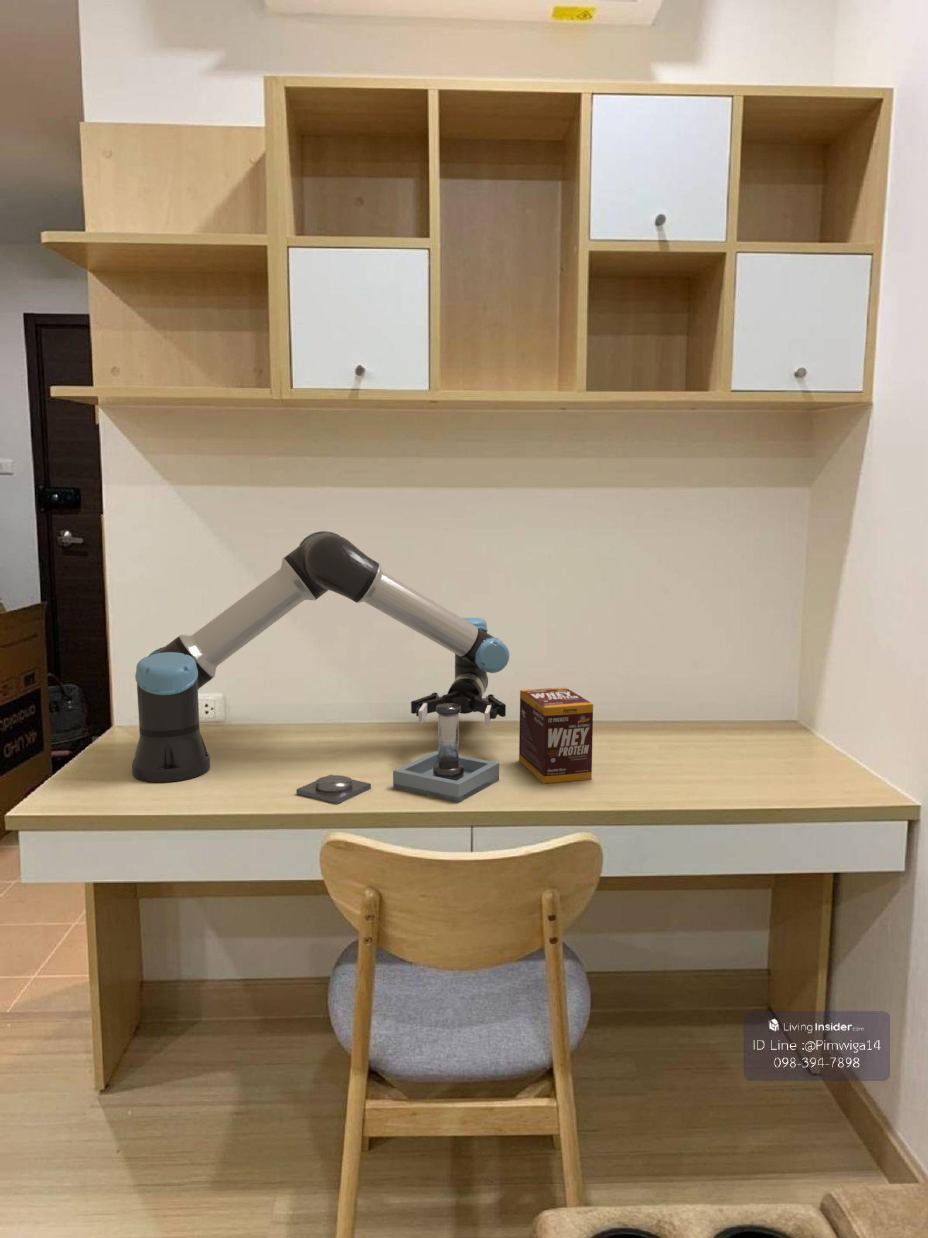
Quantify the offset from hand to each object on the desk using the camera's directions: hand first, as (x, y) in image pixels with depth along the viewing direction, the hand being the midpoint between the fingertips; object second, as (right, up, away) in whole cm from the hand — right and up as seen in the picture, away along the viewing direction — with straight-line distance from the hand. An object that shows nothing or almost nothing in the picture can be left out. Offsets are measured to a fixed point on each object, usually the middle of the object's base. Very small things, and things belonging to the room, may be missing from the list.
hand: (453, 718), depth 189 cm
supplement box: (+21, -11, +1) cm, 24 cm away
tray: (-1, -12, -8) cm, 14 cm away
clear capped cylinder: (-1, -11, -7) cm, 13 cm away
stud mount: (-23, -13, -12) cm, 29 cm away
